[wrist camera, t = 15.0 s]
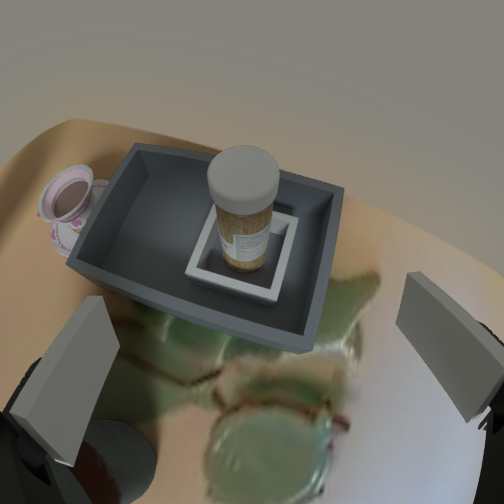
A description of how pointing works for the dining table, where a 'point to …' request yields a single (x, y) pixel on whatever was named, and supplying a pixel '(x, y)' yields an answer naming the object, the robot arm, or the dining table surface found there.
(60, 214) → the teacup
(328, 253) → the walled box
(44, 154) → the dining table surface
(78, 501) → the vodka
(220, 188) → the sprinkles bottle
